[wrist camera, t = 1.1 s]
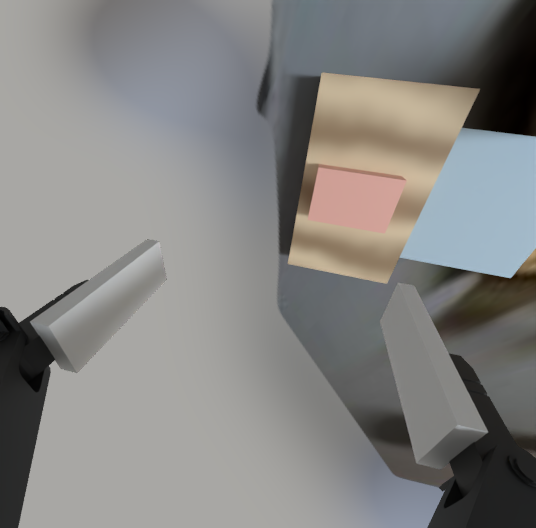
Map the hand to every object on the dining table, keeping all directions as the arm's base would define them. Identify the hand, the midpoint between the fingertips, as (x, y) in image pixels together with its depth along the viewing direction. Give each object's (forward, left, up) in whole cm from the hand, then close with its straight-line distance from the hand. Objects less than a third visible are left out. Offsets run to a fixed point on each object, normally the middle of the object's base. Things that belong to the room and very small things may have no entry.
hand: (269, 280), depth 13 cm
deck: (0, +7, -22) cm, 23 cm away
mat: (0, +22, -22) cm, 31 cm away
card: (0, +6, -19) cm, 20 cm away
